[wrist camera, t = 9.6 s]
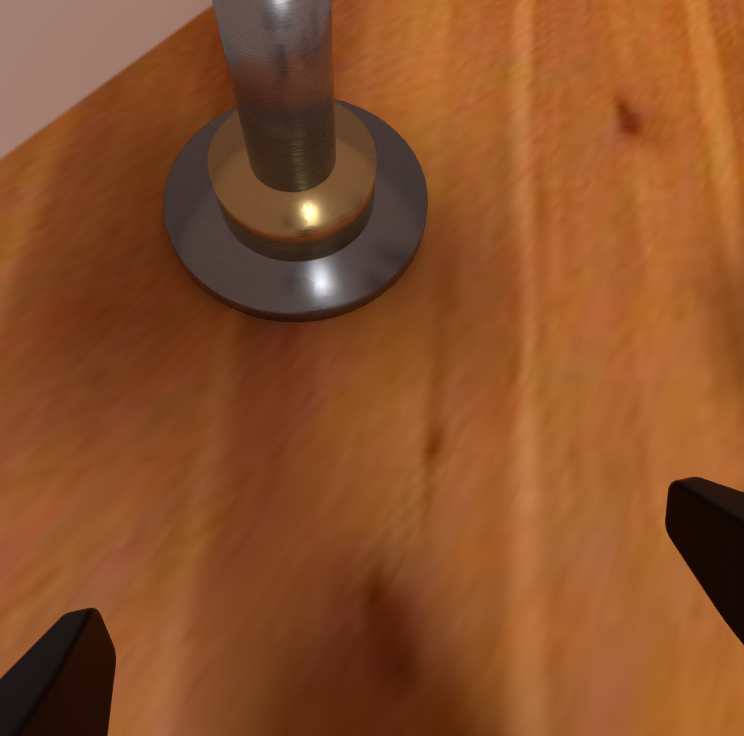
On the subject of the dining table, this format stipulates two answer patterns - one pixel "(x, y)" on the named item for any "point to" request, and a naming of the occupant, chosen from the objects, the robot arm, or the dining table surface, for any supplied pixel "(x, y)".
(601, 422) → the dining table surface
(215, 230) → the plate
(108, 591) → the dining table surface
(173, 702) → the dining table surface
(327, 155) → the grey and gold stamper
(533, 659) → the dining table surface
